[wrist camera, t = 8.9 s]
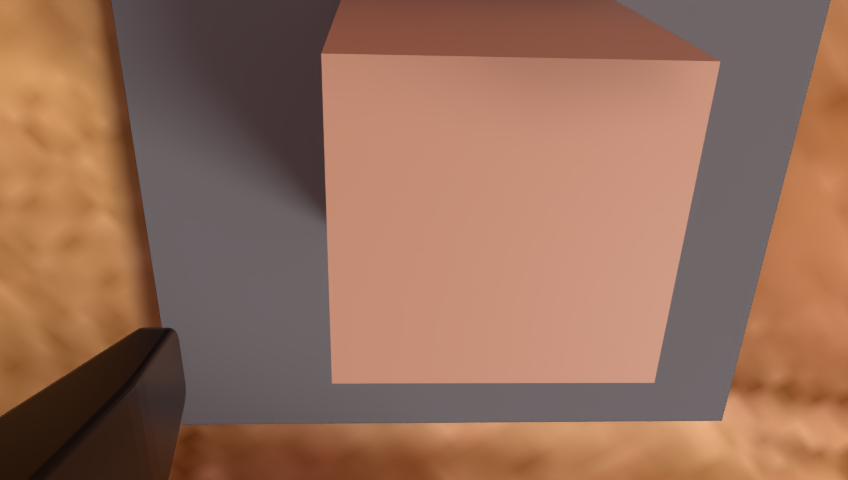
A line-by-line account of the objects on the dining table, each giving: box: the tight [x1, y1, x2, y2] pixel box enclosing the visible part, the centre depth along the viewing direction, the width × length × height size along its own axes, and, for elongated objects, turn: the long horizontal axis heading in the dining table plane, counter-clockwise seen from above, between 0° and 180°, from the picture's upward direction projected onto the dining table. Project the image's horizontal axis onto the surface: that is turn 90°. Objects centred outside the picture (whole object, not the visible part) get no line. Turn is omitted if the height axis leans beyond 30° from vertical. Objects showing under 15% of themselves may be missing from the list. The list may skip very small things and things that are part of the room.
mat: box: [111, 0, 830, 425], centre depth 18 cm, size 18×16×1 cm
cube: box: [321, 0, 720, 384], centre depth 15 cm, size 6×6×6 cm
